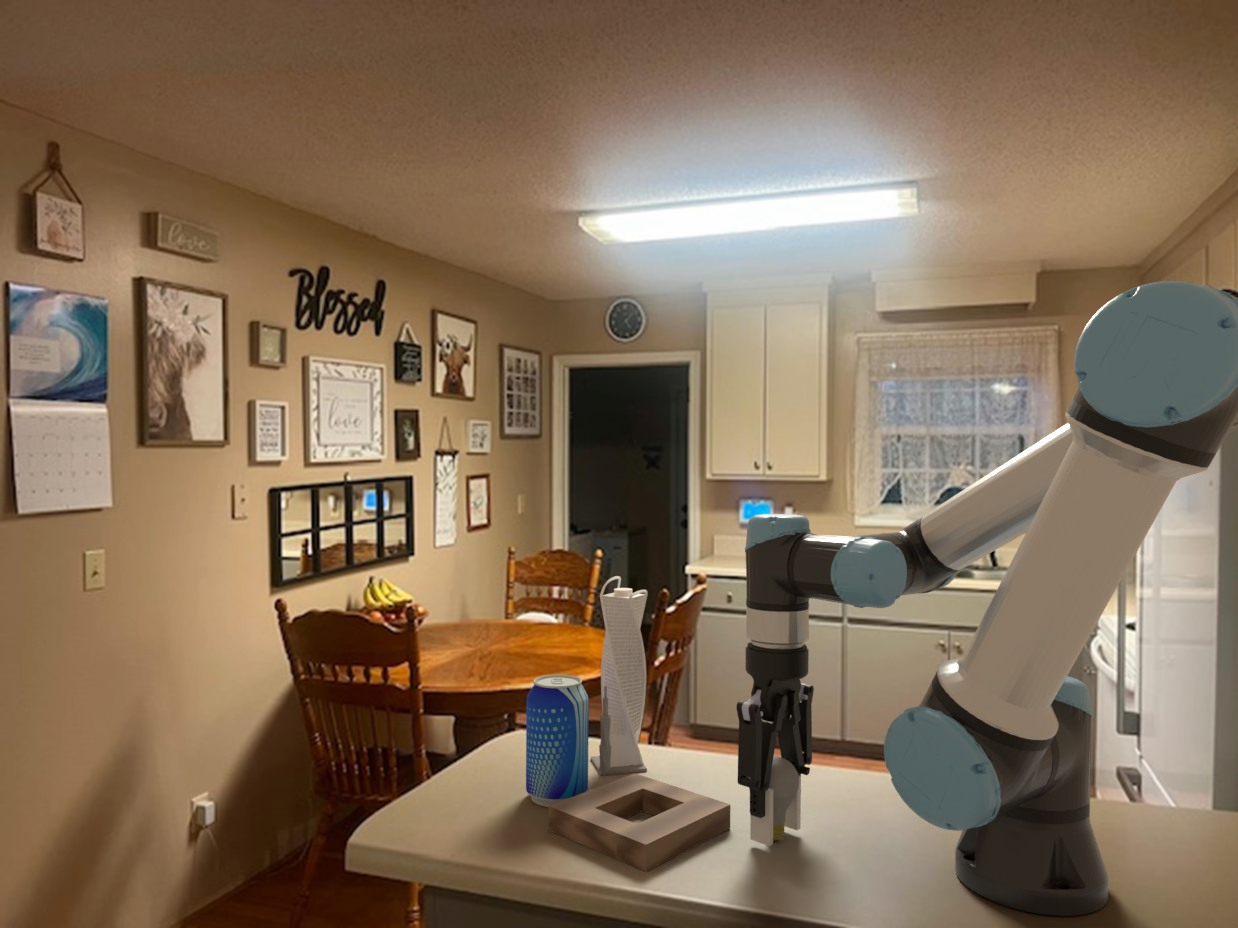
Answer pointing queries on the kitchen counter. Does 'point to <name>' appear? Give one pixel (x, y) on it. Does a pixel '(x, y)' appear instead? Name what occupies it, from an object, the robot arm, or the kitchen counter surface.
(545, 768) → the beer can
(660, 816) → the holder
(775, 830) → the light bulb
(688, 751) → the kitchen counter surface
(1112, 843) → the kitchen counter surface
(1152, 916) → the kitchen counter surface
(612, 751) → the skyscraper
